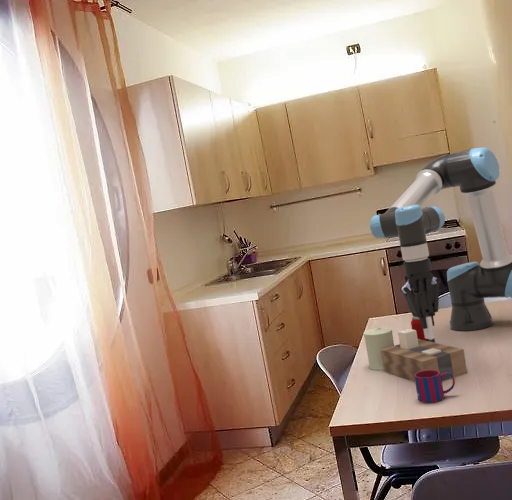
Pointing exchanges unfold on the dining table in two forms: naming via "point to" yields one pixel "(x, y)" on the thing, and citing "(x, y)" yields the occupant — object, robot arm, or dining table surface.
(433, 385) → the mug
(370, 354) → the can
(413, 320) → the beverage can
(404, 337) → the peg
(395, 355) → the socket block
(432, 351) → the peg
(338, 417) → the dining table surface
